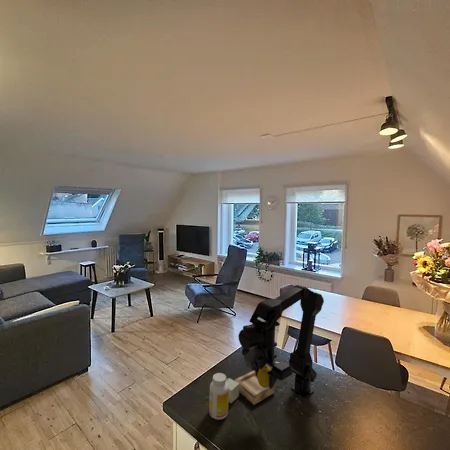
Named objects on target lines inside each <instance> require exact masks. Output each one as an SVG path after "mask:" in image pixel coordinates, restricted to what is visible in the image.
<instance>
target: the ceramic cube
mask: <svg viewBox="0 0 450 450" xmlns="http://www.w3.org/2000/svg"><path fill="white" fill-rule="evenodd" d="M226 382H227V384H228V386H229V396H228V403H230V404H232V403H233V402H235V400H237V399H238V397H240V392H239V383H238V382H236V381H235V379H234V380H233V379H232V378H230V377H229V378H226Z"/></svg>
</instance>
